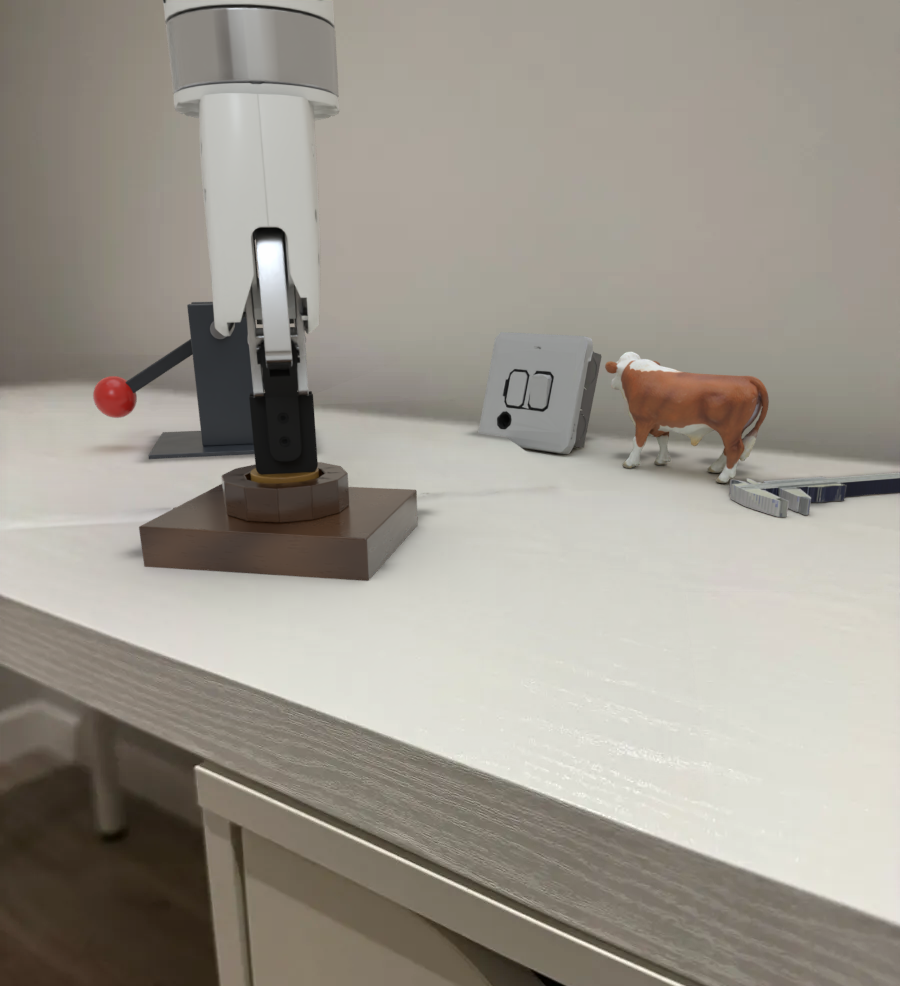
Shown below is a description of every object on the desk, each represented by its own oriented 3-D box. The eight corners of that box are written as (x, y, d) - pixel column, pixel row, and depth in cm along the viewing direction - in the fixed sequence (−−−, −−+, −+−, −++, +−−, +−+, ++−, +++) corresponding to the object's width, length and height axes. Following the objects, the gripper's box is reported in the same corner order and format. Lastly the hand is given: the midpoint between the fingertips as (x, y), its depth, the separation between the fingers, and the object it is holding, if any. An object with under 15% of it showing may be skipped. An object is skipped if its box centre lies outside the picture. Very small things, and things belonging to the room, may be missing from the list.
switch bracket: (150, 470, 67) (128, 306, 62) (164, 446, 76) (146, 301, 72) (310, 463, 69) (299, 303, 65) (305, 439, 78) (295, 299, 74)
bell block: (143, 567, 45) (132, 491, 44) (228, 516, 54) (222, 451, 53) (368, 582, 43) (365, 501, 41) (417, 525, 52) (416, 458, 50)
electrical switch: (475, 443, 76) (483, 330, 73) (511, 440, 79) (520, 333, 77) (566, 457, 70) (578, 335, 67) (600, 453, 74) (613, 338, 71)
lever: (108, 428, 68) (80, 393, 67) (114, 422, 71) (88, 388, 70) (248, 336, 68) (222, 299, 67) (248, 333, 71) (224, 297, 69)
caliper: (786, 501, 52) (713, 480, 57) (783, 519, 53) (712, 496, 58) (1008, 468, 60) (927, 451, 66) (1005, 483, 61) (924, 466, 66)
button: (242, 508, 46) (238, 476, 46) (268, 492, 50) (266, 461, 49) (306, 512, 46) (304, 478, 45) (329, 495, 49) (327, 464, 48)
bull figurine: (618, 452, 71) (624, 348, 69) (769, 479, 62) (784, 360, 59) (582, 460, 69) (587, 352, 66) (735, 490, 59) (749, 365, 56)
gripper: (184, 103, 47) (221, 448, 53) (151, 33, 33) (206, 510, 39) (327, 105, 48) (345, 441, 54) (351, 40, 34) (373, 500, 41)
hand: (287, 469), depth 47 cm, fingers closed
